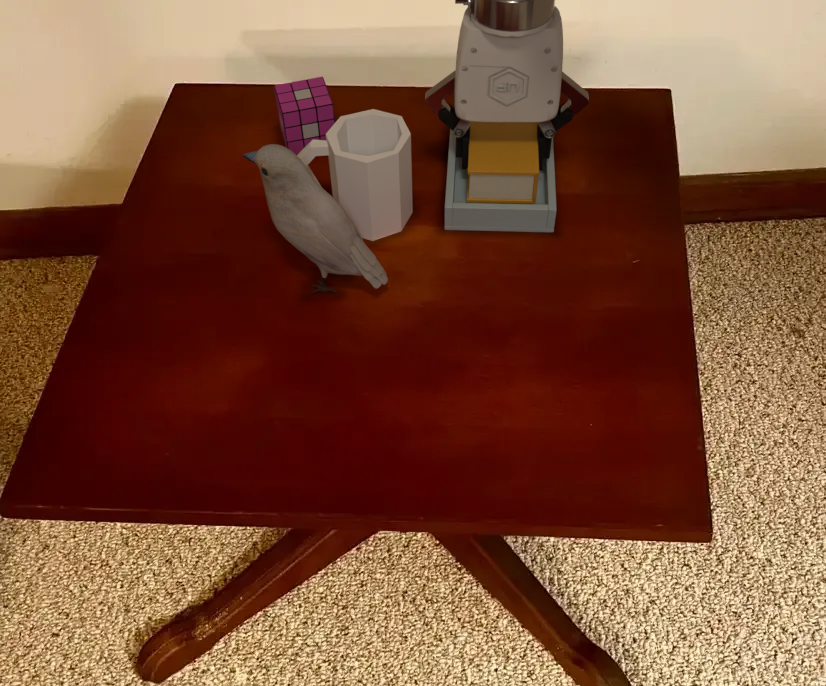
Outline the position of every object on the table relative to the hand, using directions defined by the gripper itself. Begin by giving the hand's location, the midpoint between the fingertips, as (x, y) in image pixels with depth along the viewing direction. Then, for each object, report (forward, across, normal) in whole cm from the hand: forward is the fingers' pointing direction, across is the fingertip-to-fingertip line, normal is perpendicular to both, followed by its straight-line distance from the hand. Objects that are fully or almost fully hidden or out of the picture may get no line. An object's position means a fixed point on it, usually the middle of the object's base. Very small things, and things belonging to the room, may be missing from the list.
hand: (501, 160), depth 92 cm
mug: (+3, -15, -6) cm, 16 cm away
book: (+1, 0, 0) cm, 1 cm away
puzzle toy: (+3, -22, +7) cm, 23 cm away
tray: (+3, 0, 0) cm, 3 cm away
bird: (+3, -17, -16) cm, 24 cm away
